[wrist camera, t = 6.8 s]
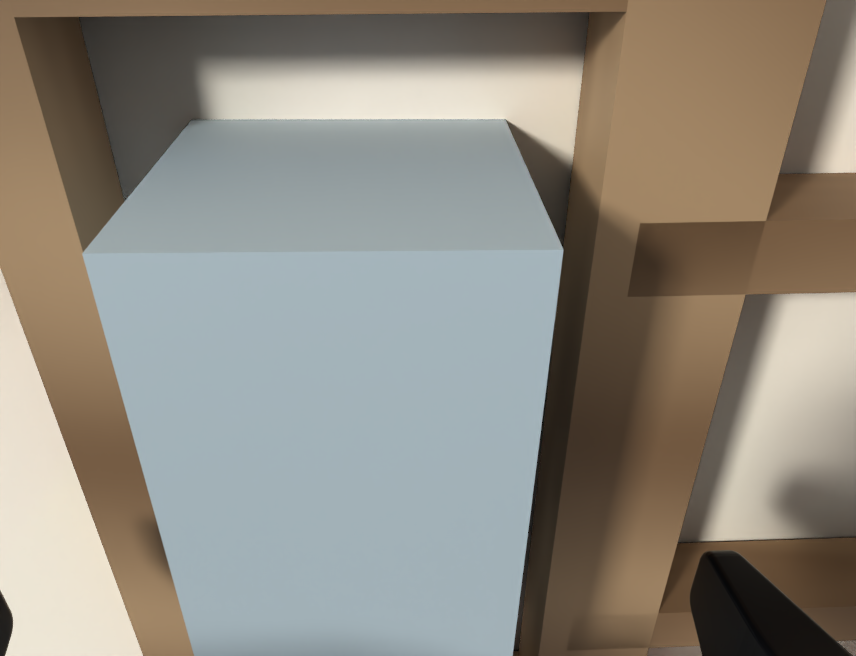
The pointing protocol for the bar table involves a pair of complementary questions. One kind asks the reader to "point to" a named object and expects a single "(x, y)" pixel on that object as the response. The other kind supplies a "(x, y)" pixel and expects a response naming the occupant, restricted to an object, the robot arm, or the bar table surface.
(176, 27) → the bar table surface
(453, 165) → the light blue rectangular block
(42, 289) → the jig
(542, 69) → the bar table surface
